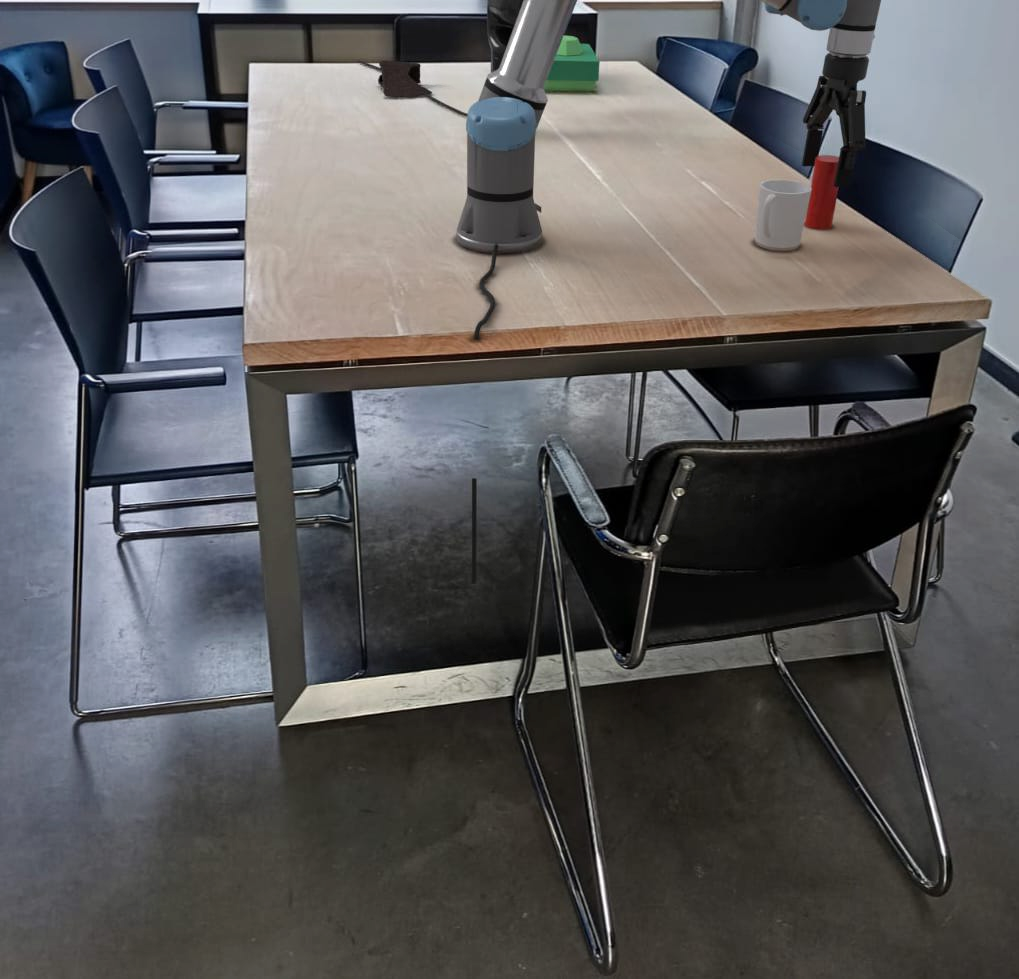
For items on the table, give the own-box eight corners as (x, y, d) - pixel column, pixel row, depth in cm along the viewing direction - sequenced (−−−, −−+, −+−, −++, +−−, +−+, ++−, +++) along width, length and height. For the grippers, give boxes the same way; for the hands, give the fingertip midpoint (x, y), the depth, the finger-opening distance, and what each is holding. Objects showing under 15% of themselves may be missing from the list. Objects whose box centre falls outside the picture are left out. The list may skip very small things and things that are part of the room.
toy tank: (586, 25, 325) (600, 46, 295) (584, 69, 332) (597, 94, 302) (527, 24, 324) (535, 45, 294) (526, 68, 331) (533, 93, 301)
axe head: (443, 87, 294) (392, 77, 287) (436, 115, 299) (385, 106, 292) (421, 62, 307) (371, 52, 300) (414, 89, 311) (365, 80, 304)
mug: (766, 232, 202) (774, 176, 197) (810, 242, 198) (820, 186, 192) (737, 246, 195) (744, 189, 190) (782, 258, 190) (791, 199, 185)
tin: (828, 231, 204) (840, 163, 198) (802, 226, 206) (813, 159, 199) (834, 223, 208) (846, 157, 201) (808, 219, 210) (819, 153, 203)
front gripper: (902, 68, 181) (875, 195, 192) (835, 41, 202) (814, 157, 213) (861, 68, 180) (836, 196, 191) (798, 41, 201) (778, 158, 212)
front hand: (824, 176), depth 202 cm, fingers open, 13 cm apart
